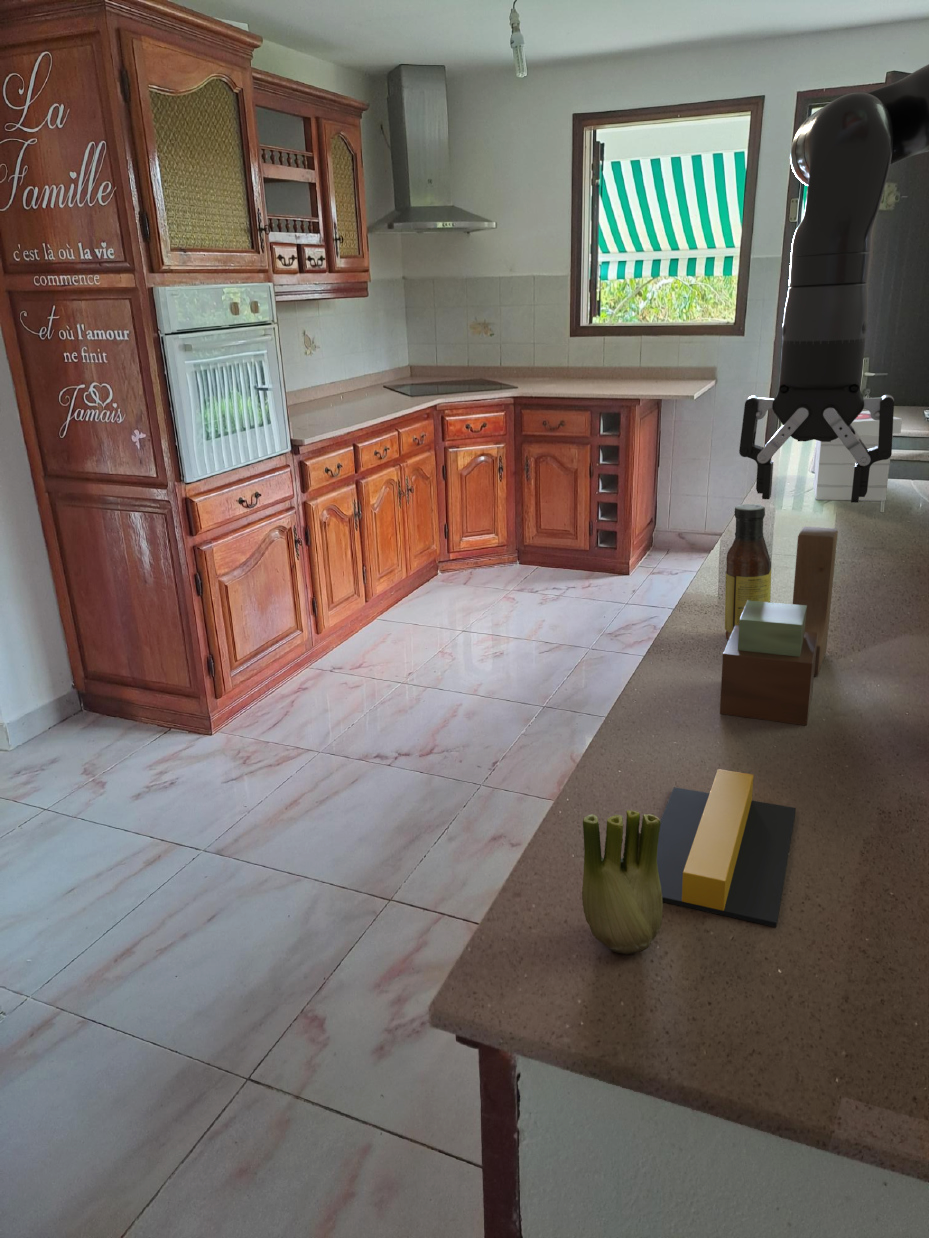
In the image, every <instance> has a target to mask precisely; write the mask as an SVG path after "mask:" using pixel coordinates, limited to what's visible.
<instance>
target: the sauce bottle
mask: <svg viewBox="0 0 929 1238" xmlns="http://www.w3.org/2000/svg"><path fill="white" fill-rule="evenodd" d="M765 516H766V508H765V506H764V505H762V504H759V503H744V504H738V505H736V506H735V507H734V518H735V532H734V536H735V537H734V539H733V542H732V544H731V546H730V547H729V549H728V551H726V552H727V553H726V568H725V569H726V570H725V584H724V585H725V586H724V587H725V588H724V589H725V590H724V593H725V594H724V598H725V599H724V629H725V634H724V635H725V639H726V640H728V641H729V638H730V636H731V633H732V631H733V629H734V626H735V625H739V620H740V617H741V615H742V612H743V610H744V608H745V605H746V603H747V601H760V602H771V594H772V593H771V592H772V589H771V588H772V561H771V557H770V553H769V551H768V547H767V544H766V539H765V536H764V518H765Z"/></svg>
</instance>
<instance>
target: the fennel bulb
mask: <svg viewBox="0 0 929 1238" xmlns="http://www.w3.org/2000/svg"><path fill="white" fill-rule="evenodd" d="M625 813H626V822H625V835H624V824H623V823H624V820H623V819H624V818H623V816H622V815H620V814H613V815H612V816H609V817H608V818H607V819H606V830H605V841H604V855H602V847H601V846H602V845H601V844H602V843H601V833H600V824H599V819H598V818H599V817H598V816H597V815H595V814H593V813H592V814H588V815H586V816H584V817H583V818H582V832H583V849H584V850H583V852H584V853H583V875H582V887H581V900H582V908H583V914H584V917H585V918H584V919H585V921H586V924H588V926H589V929H590V931H591V933H592V936H594V938H595V939H596V940H597V941H599V942H600V943H602V944H603V946H605V947H607V948H608V949H609V950H610V951H612V952H615V953H617V954H621V955H635V954H638V953H639V954H640V953H642V952H644V951H645V950H646V949H648V948H650V946H651V943H652V942H653V941H654V940H655V939H656V937H657V935H658V933H659V932H660V929H661V926H662V920H663V909H664V908H663V903H664V902H662V891H661V885H660V879H659V873H658V866H657V850H658V839H659V830H660V824H661V821H660V820H661V818H659V817H658V816H656V815H655V814H650V813H649V814H647V813H645V814H642V820H641V814H640V812H639V811H636V810H632V809H627V810H626V811H625ZM640 820H641V822H640ZM640 823H641V828H640ZM623 835H624V836H625V837H624V846H623ZM622 846H623V848H622ZM622 849H623V850H622ZM622 851H623V853H622ZM602 856H603V857H602ZM622 856H623V857H622Z"/></svg>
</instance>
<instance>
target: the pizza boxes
mask: <svg viewBox="0 0 929 1238" xmlns="http://www.w3.org/2000/svg"><path fill="white" fill-rule="evenodd" d="M902 424H903V418H901V417H897V416H893V434H894V435H895V434H901V433H902ZM851 425H852V426H853V428H854V429H855V431H856V432H857V434H858V435H859V437H860V439H861V440H862V442H863V443H864V444H865V446H866V447H867V449H870V448H873V447H877V446H878V441H879V420H874V419H872V418H871V414H870V412H869V410H862V412H861V413H860V414H859V415H858V416H857V418H856V419H855V420H854V421H853V422H852V423H851ZM894 435H892V440H893V438H894ZM855 462H856V463H857V461H856V460H855V458H854V457H853V456H852V454H851V453H850V451H849V450H848V449H847V448H846V447H845V446H844V444H843V443H842V441H841V440H840V438H839V437H838V438H837V439H835V440H832V441H831V442H822V441H818V440H815V446H814V452H813V457H812V470H811V471H812V472H813V473H814V475H813V492H814V497H815V500H816V501H818V500H819V501H851V497H852V487H853V477H854V467H855ZM890 465H891V457H890V458H889V459H887V460H880V461H877V462H874V463H873V464H872V465H871V466H870V470H869V479H868V489H867V493H866V495H865V497H859V501H862V502H863V501H865V502H866V501H868V502H870V501H871V502H886V500H887V492H888V491H887V490H888V483H889V474H890Z"/></svg>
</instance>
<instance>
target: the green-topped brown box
mask: <svg viewBox="0 0 929 1238" xmlns="http://www.w3.org/2000/svg"><path fill="white" fill-rule="evenodd" d="M806 610H807V605H796V604H793V603H785V602H784V603H783V602H782V603H781V602H771V601H770V602H760V601H747V603H746V605H745V608H744V610H743V612H742V615H741V617H740V620H739V625H735V626H734V629H733V631H732V633H731V636H730V638H729V640H728V641H727V643H726V645H725V647H724V650H723V652H722V660H721V661H722V662H721V664H722V665H721V679H720V680H721V682H720V702H719V714H720V715H726V716H734V717H741V718H748V719H757V720H765V721H769V722H770V721H771V722H779V723H786V724H793V725H801V726H807V725H808V720H809V714H810V709H811V703H812V696H813V691H814V681H815V680H814V679H815V676H814V671H815V660H816V649H817V639H818V633H814V632H805V622H806Z"/></svg>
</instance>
